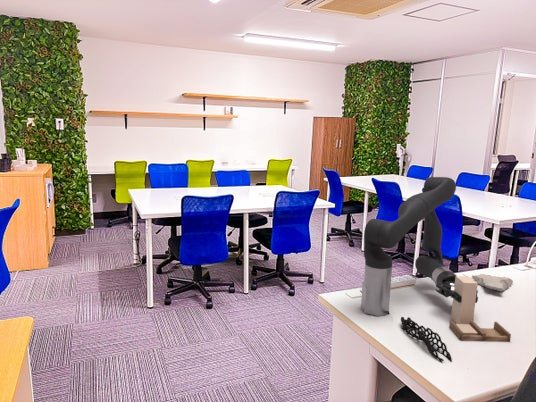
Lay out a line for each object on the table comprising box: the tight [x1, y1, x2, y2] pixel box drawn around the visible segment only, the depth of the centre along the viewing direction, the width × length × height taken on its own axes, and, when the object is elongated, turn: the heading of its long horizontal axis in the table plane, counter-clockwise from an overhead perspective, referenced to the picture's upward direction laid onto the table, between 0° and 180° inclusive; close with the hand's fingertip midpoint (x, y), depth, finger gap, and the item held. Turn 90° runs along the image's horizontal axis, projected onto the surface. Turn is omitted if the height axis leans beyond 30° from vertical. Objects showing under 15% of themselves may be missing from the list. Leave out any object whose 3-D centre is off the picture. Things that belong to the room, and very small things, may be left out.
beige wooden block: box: [450, 275, 479, 325], centre depth 133 cm, size 4×6×15 cm
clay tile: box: [455, 323, 478, 335], centre depth 126 cm, size 4×6×2 cm
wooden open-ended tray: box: [448, 320, 512, 343], centre depth 126 cm, size 15×8×4 cm, turn 89°
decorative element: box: [400, 316, 453, 363], centre depth 121 cm, size 22×5×6 cm, turn 14°
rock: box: [471, 273, 514, 292], centre depth 168 cm, size 21×5×15 cm
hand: (468, 300), depth 130 cm, fingers closed on beige wooden block, 4 cm apart
